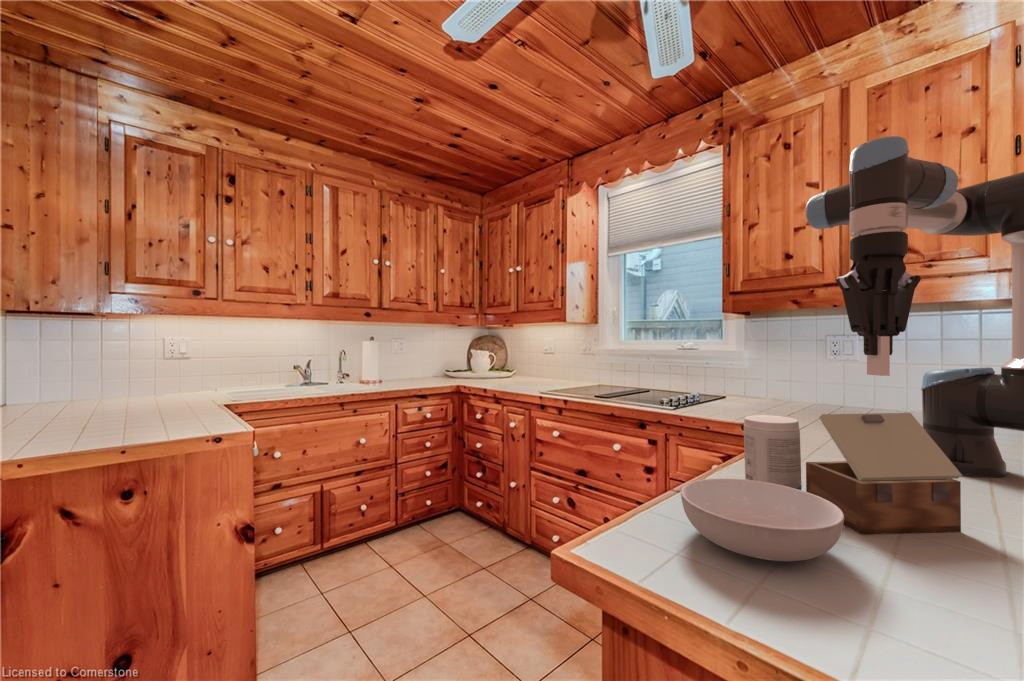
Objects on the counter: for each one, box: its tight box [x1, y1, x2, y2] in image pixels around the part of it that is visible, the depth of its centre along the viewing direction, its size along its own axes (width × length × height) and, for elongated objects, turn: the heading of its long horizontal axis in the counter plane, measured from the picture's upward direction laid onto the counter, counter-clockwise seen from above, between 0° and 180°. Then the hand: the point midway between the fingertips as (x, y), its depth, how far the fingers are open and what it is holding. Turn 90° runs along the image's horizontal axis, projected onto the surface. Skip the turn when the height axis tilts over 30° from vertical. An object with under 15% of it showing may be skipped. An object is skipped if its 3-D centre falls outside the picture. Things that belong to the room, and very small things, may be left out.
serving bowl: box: [680, 477, 844, 562], centre depth 65 cm, size 21×21×7 cm
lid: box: [818, 412, 963, 481], centre depth 72 cm, size 16×12×2 cm
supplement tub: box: [743, 414, 803, 491], centre depth 86 cm, size 10×10×15 cm
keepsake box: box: [805, 460, 962, 536], centre depth 73 cm, size 16×12×8 cm
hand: (878, 374), depth 73 cm, fingers closed
